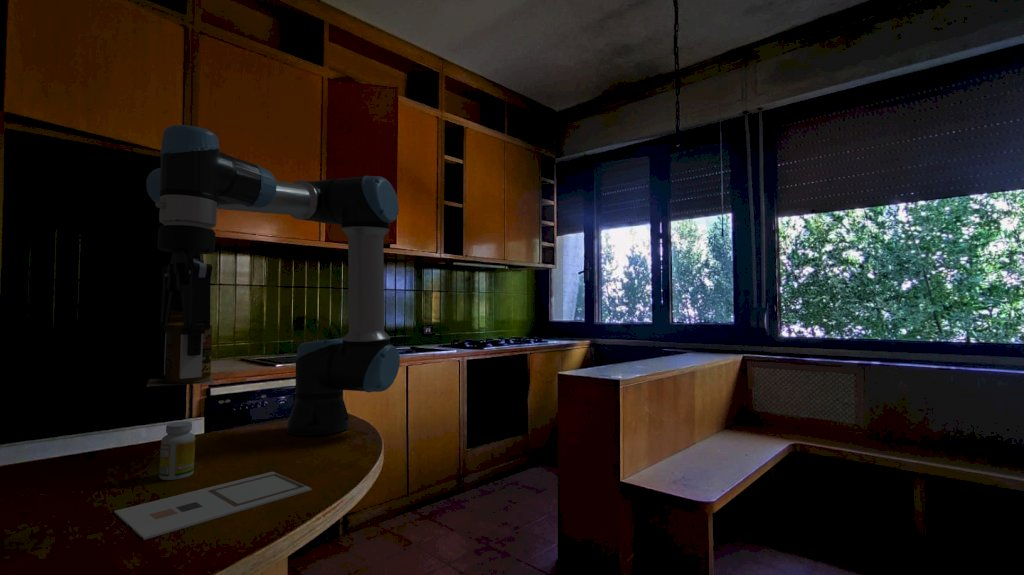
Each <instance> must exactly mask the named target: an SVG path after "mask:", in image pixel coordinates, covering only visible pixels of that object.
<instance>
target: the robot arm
mask: <svg viewBox="0 0 1024 575" xmlns="http://www.w3.org/2000/svg"><path fill="white" fill-rule="evenodd" d="M220 147H221V146H220V145H219V138H218V136H217V135H216V134H215V133H213V131H211V130H208V129H205V128H203V127H198V126H195V125H194V126H193V125H187V124H175V125H171V126H170V125H169V126H168V127H166V128H165V129H164V130H163V134H162V138H161V148H160V151H159V155H160V167H158V168H155V169H153V170H152V171H151V172H149V174H148V175H147V178H146V191H147V194H148V196H149V198H150V199H151V200H152V201H153V202H154V203H155V207H156V208H158V209H159V213H158V217H159V218H158V222H159V223H161V224H162V225H160V226H159V227H158V229H157V230H158V231H157V249H158V250H159V251H162V252H166V253H170V254H171V257H170V262H169V263H168V264H167V266H163V267H162V269H161V272H162V294H161V306H160V307H161V308H160V311H161V312H160V321H159V322H160V323H159V326H160V328H161V329H163V331H164V333H165V335H164V336H165V337H164V339H165V340H164V357H163V358H164V362H163V363H164V364H163V375H164V376H165V355H166V353H165V351H166V328H167V324H168V323H169V321H170V314H171V310H170V308H171V306H174V305H175V306H182V311H183V324H184V329H181V330H180V331H178V333H179V334H181V348H180V375H179V378H180V379H184V378H195V377H202V350H203V334H204V333H205V330H209V329H210V322H211V279H212V272H213V265H212V263H204V262H205V260H204V255H210V254H213V253H214V252H215V251H216V233H217V232H216V231H215V230H214V229H213V228H215V227H216V226H217V217H218V216H217V213H218V211H217V210H221V211H222V210H225V211H235V212H236V211H238V212H247V213H248V212H250V213H262V214H274V215H287V216H290V217H291V218H293V219H295V220H298V221H307V222H308V221H309V222H313V223H314V222H316V223H321V224H329V225H341V231H342V232H343V233H344V234H345V235H346V236H347V253H348V255H347V256H348V257H347V258H348V259H347V260H348V262H347V263H348V264H347V266H348V267H347V269H348V273H347V274H348V278H347V279H348V332H347V334H345V336H344V337H342V338H332V339H324V340H314V341H306V342H302V343H300V344H299V345H298V346H297V348H296V357H295V390H294V391H295V392H294V393H295V395H294V396H295V398H294V402H293V406H292V409H291V411H290V414H289V416H288V420H287V423H286V433H287V434H288V433H289V435H291V436H296V437H297V436H298V437H318V435H322V436H328V435H327V434H329V435H333V434H332V433H335V434H337V433H336V432H339V433H341V432H340V431H343V430H345V429H347V428H348V427H349V428H350V415H349V414H348V413H349V412H348V409H347V407H346V404H345V400H344V391H350V392H351V391H353V392H365V393H372V392H373V393H374V392H375V393H376V392H377V393H380V392H384V391H386V390H388V389H389V388H390V387H391V386H393V384H394V382H395V379H396V378H397V376H398V373H399V369H400V365H401V364H400V363H401V357H400V352H399V350H398V348H397V347H396V346H394V345H392V344H391V336H390V335H389V334H388V333H387V332H386V331H385V297H384V296H385V293H384V290H385V287H384V286H385V285H384V284H385V283H384V282H385V280H384V276H385V275H384V273H385V272H384V270H385V269H384V268H385V267H384V262H385V260H384V237H385V236H386V235H387V234H388V233H389V232H390V224H391V223H393V222H395V221H396V220H397V218H398V215H399V208H400V206H399V200H398V196H397V193H396V191H395V188H394V187H393V185H392V184H391V183H390V181H389V180H387V178H385V177H383V176H380V175H377V176H376V175H364V176H354V177H353V176H351V177H344V178H343V177H342V178H341V177H340V178H330V179H320V180H310V181H309V180H308V181H307V180H295V181H293V182H287V181H281V180H276V178H275V175H273V173H272V172H271V171H270V170H268V169H266V168H264V167H262V166H259V165H258V164H256V163H251V162H249V161H245V160H243V159H240V158H237V157H234V156H232V155H229V154H226V153H225V152H223V151H220ZM347 430H348V429H347ZM345 431H346V430H345ZM343 432H344V431H343Z"/></svg>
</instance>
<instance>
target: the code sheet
mask: <svg viewBox="0 0 1024 575" xmlns="http://www.w3.org/2000/svg"><path fill="white" fill-rule="evenodd" d="M312 490H313V488H311V487H310V486H307V485H305V484H302V483H300V482H298V481H295V480H293V479H291V478H289V477H287V476H284V475H282V474H279V473H277V472H275V471H270V472H269V471H268V472H265V473H262V474H258V475H252V476H249V477H246V478H245V477H244V478H241V479H238V480H237V479H236V480H234V481H229V482H225V483H221V484H217V485H214V486H209V487H205V488H201V489H198V490H193V491H189V492H184V493H181V494H178V495H174V496H170V497H164V498H161V499H157V500H152V501H149V502H144V503H141V504H137V505H133V506H129V507H126V508H125V507H124V508H121V509H116V510H114V514H115V515H116V516H117V517H118V518H119V519H120V520H121V521H123V522H124V524H126V525H127V526H128V525H129V526H130V527H131V528H132V531H134V533H136V534H137V535H138V536H139V537H140V538H141V537H142V538H143V539H142V538H141V539H142V540H144V541H145V540H148V539H152V538H155V537H159V536H161V535H165V534H168V533H172V532H176V531H180V530H183V529H186V528H189V527H192V526H196V525H199V524H203V523H206V522H209V521H212V520H215V519H216V520H217V519H218V518H222V517H223V518H224V517H226V516H229V515H233V514H236V513H239V512H242V511H245V510H249V509H252V508H255V507H260V506H262V505H267V504H270V503H272V502H276V501H280V500H283V499H286V498H290V497H292V496H297V495H300V494H302V493H303V494H304V493H307V492H310V491H312ZM129 526H128V527H129ZM130 527H129V528H130ZM131 528H130V529H131Z"/></svg>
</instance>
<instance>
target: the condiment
mask: <svg viewBox="0 0 1024 575" xmlns="http://www.w3.org/2000/svg"><path fill="white" fill-rule="evenodd" d="M170 310H171V314H170V321H169V323H168V324H167V328H166V332H165V333H166V351H165V350H164V356H165V375H164V379H163V378H161V379H160V378H154V379H153V378H152V379H151V378H150V379H148V382H147V384H146V386H145V388H148V387H161V386H187V385H201V384H203V385H204V384H213V383H214V382H215V381H214V379H213V376H211V375H212V374H211V371H212V347H213V346H212V345H213V344H212V341H213V324H212V322H211V321H210V329H209V330H205V333H204V334H203V350H202V377H195V378H184V379H180V378H179V375H180V348H181V334H179V333H178V331H180V330H181V329H184V324H183V311H182V306H175V305H174V306H171V308H170ZM165 353H166V355H165Z"/></svg>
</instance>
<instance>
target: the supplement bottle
mask: <svg viewBox="0 0 1024 575" xmlns="http://www.w3.org/2000/svg"><path fill="white" fill-rule="evenodd" d="M192 430H193V422H191V421H175V422H171V423H168V424H167V423H166V426H165V432H166V434H167V435H164V436H163V437H162V438H161V441H160V451H159V452H160V454H159V468H158V470H159V471H158V472H159V474H158V476H159V479H160V480H162V481H176V480H180V479H186V478H189V477H190V476H192V475H193V474H194V471H195V457H196V453H195V451H196V435H195V434H194V433H193V432H191V431H192Z"/></svg>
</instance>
